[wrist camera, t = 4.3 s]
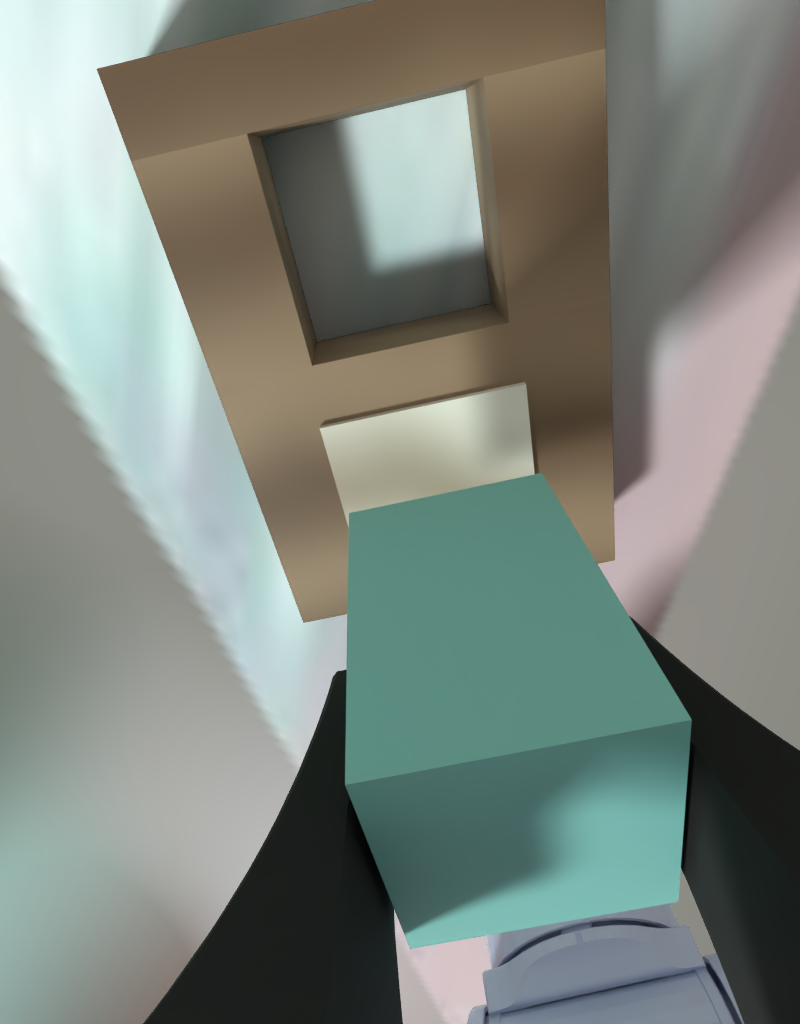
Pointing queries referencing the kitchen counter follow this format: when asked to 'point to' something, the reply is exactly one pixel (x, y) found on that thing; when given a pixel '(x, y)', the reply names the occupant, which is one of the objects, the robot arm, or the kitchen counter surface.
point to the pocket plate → (412, 345)
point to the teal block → (505, 719)
